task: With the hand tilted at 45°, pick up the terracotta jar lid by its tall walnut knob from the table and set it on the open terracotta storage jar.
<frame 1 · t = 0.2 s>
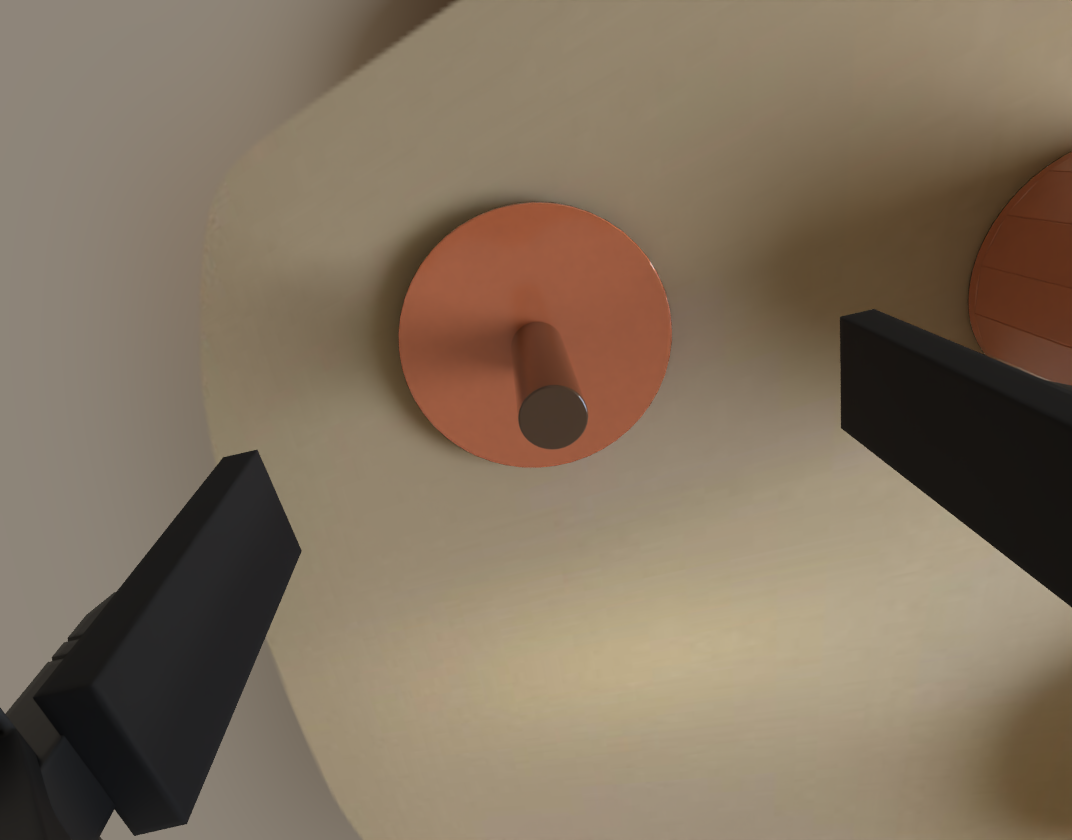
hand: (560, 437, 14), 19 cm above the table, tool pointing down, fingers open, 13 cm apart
lid: (536, 343, 32), point 1 cm above the table
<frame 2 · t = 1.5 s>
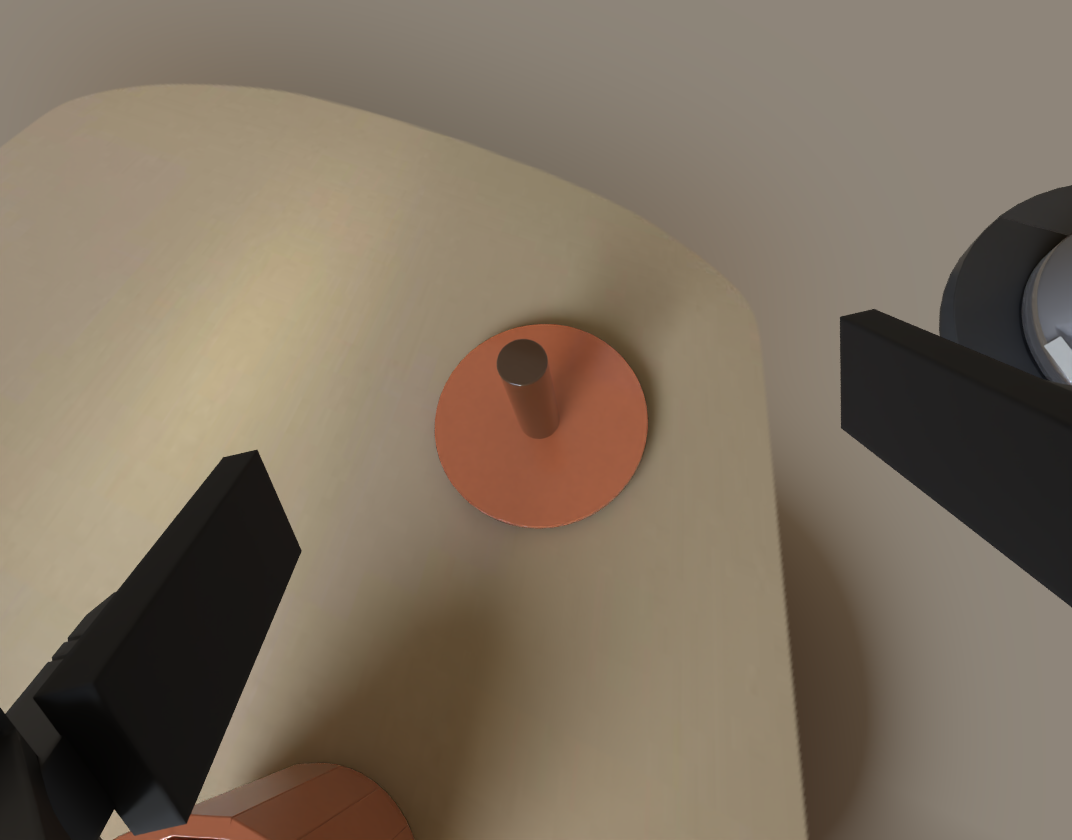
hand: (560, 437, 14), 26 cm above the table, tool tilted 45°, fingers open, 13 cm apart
lid: (540, 422, 41), point 1 cm above the table
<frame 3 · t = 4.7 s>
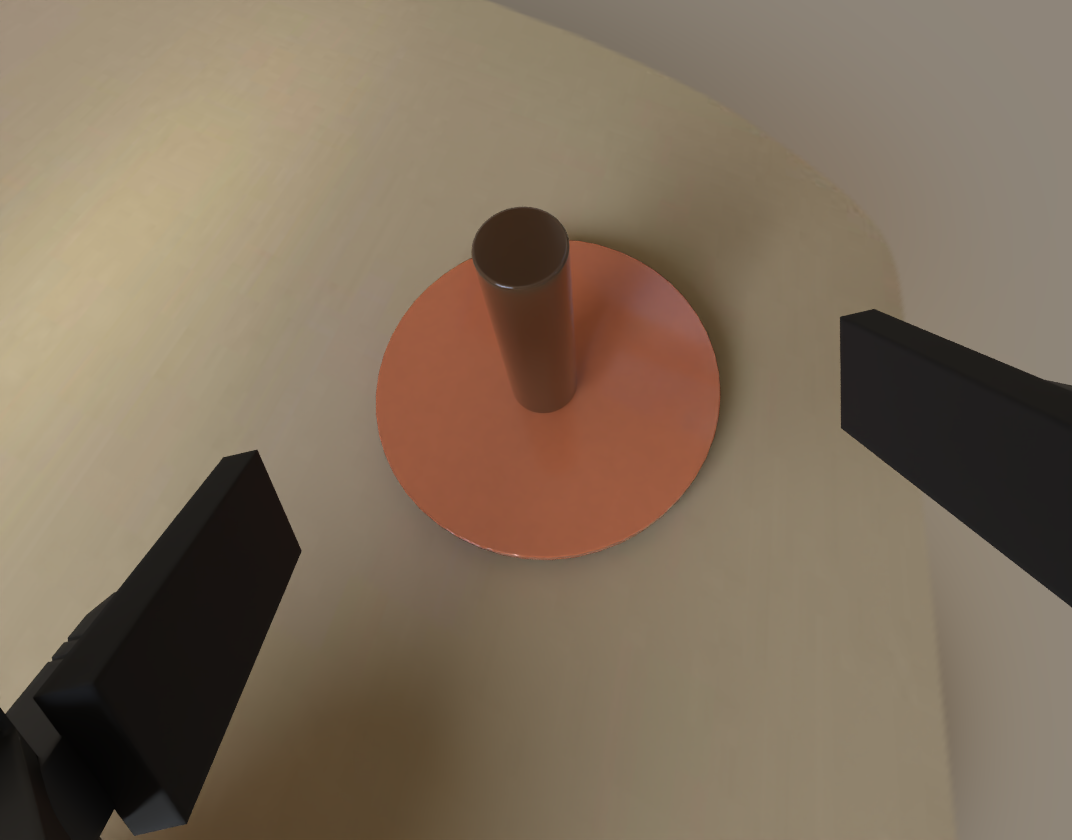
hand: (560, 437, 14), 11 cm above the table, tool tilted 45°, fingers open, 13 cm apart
lid: (545, 389, 26), point 1 cm above the table
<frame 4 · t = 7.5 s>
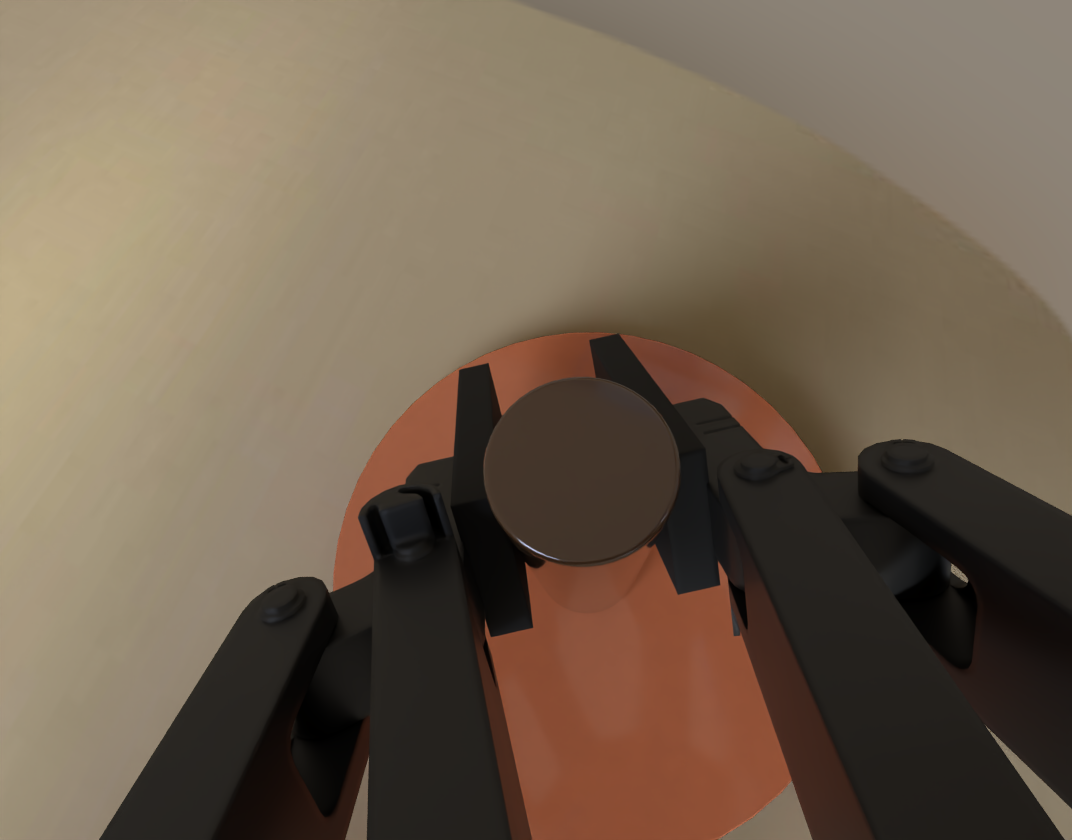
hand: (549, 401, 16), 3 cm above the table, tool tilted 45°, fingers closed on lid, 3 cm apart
lid: (586, 565, 17), point 1 cm above the table, touching gripper
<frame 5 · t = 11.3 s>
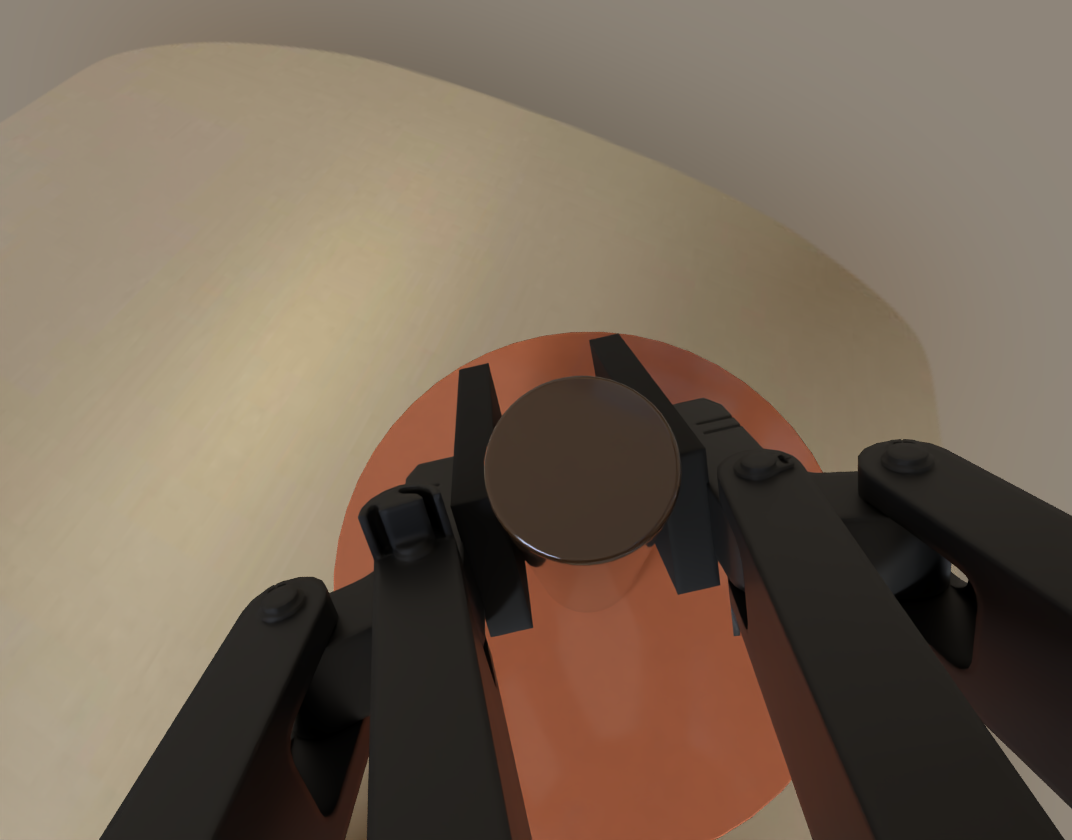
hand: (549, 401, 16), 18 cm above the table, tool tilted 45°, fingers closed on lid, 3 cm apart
lid: (586, 564, 17), point 16 cm above the table, touching gripper
when the fingers open (14 cm above the table, at t = 15.2 s): lid stays where it is, resting on jar.
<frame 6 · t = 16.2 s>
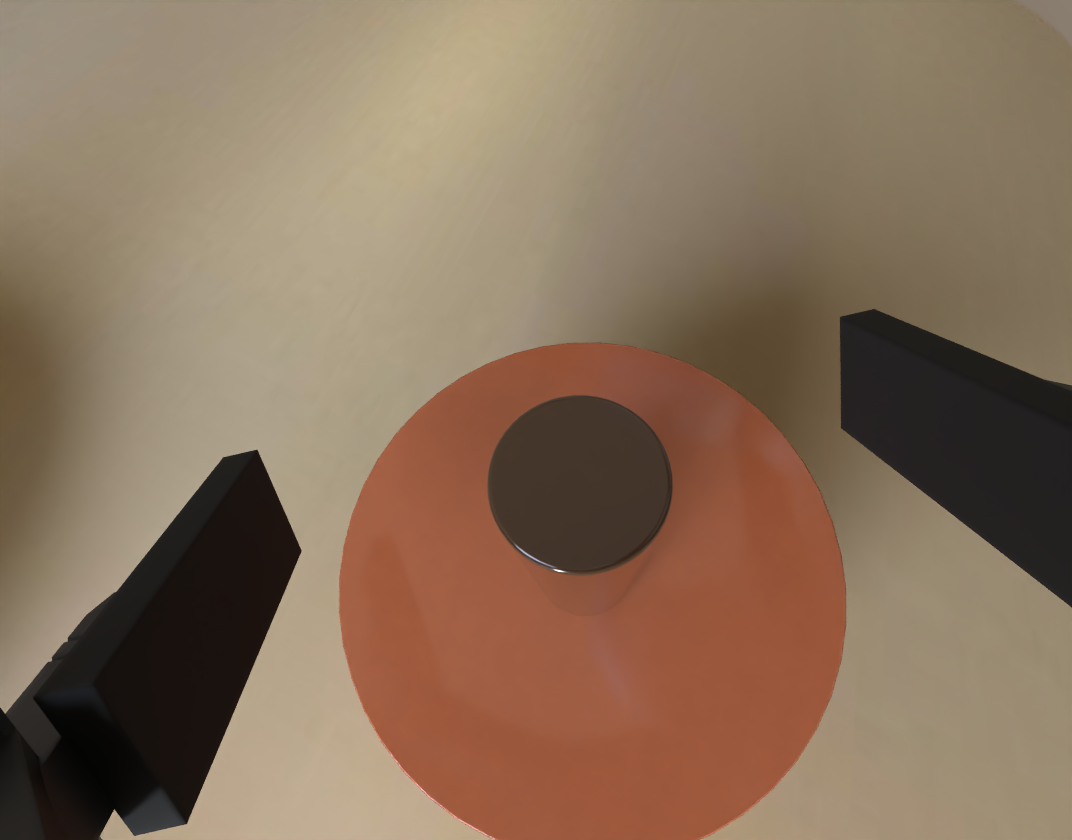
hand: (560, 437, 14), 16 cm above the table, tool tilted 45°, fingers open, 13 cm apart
lid: (584, 569, 18), point 12 cm above the table, touching jar
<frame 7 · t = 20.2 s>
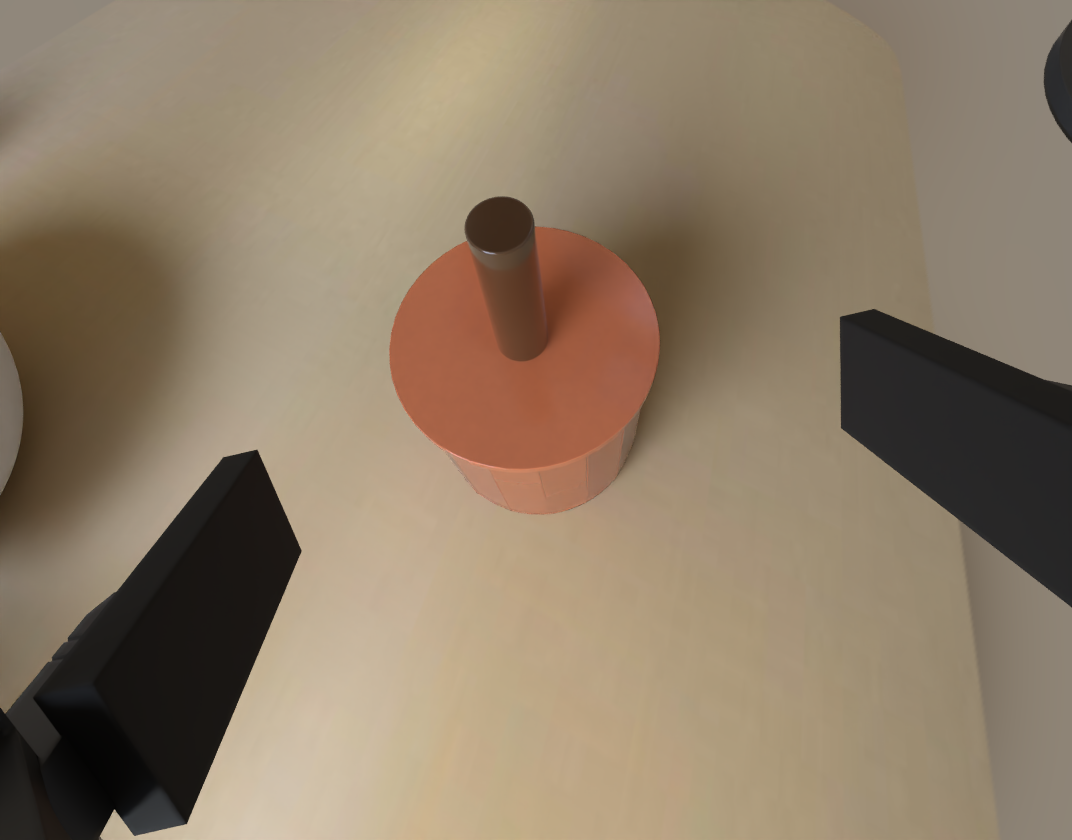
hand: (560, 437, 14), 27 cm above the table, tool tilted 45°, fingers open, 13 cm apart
lid: (523, 344, 32), point 12 cm above the table, touching jar
jar: (540, 422, 43), on the table
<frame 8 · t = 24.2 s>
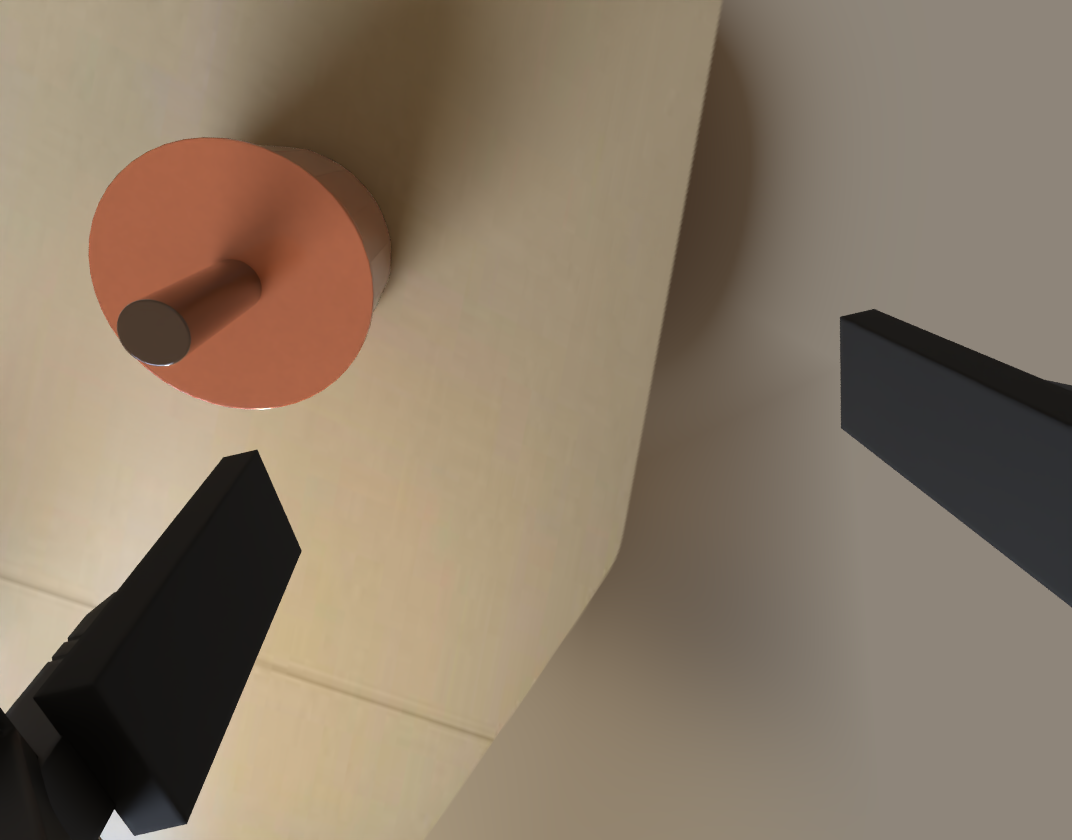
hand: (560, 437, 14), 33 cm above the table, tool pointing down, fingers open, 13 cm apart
lid: (239, 282, 33), point 12 cm above the table, touching jar
jar: (296, 247, 43), on the table
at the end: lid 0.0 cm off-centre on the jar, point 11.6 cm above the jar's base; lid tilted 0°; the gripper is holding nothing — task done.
